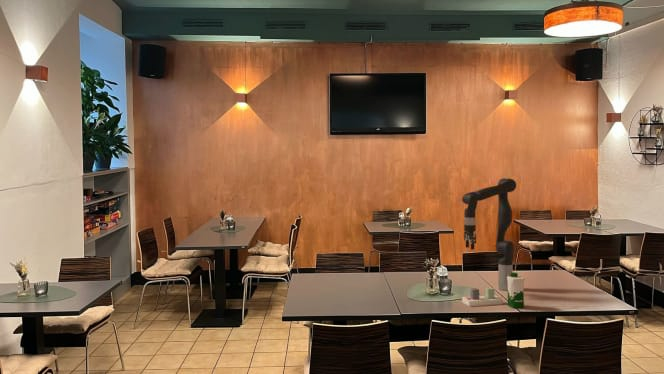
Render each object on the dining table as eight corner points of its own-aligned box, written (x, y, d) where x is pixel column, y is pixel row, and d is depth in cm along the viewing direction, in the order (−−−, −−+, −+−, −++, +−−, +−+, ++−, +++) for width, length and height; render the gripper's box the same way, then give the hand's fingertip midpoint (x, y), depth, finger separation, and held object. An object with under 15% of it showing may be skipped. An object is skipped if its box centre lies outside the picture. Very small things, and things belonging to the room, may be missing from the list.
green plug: (491, 301, 353) (491, 287, 353) (494, 303, 349) (494, 288, 349) (485, 301, 353) (485, 287, 352) (488, 303, 349) (488, 289, 348)
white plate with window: (495, 299, 357) (495, 285, 357) (503, 304, 346) (503, 289, 346) (462, 301, 354) (462, 287, 353) (469, 306, 343) (469, 291, 342)
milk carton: (518, 304, 346) (518, 271, 345) (526, 308, 337) (526, 275, 336) (505, 305, 344) (505, 272, 343) (513, 309, 336) (513, 275, 334)
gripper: (479, 225, 365) (479, 250, 366) (470, 222, 379) (471, 246, 380) (468, 225, 364) (468, 250, 365) (460, 223, 378) (460, 247, 379)
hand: (469, 248), depth 372 cm, fingers open, 8 cm apart
